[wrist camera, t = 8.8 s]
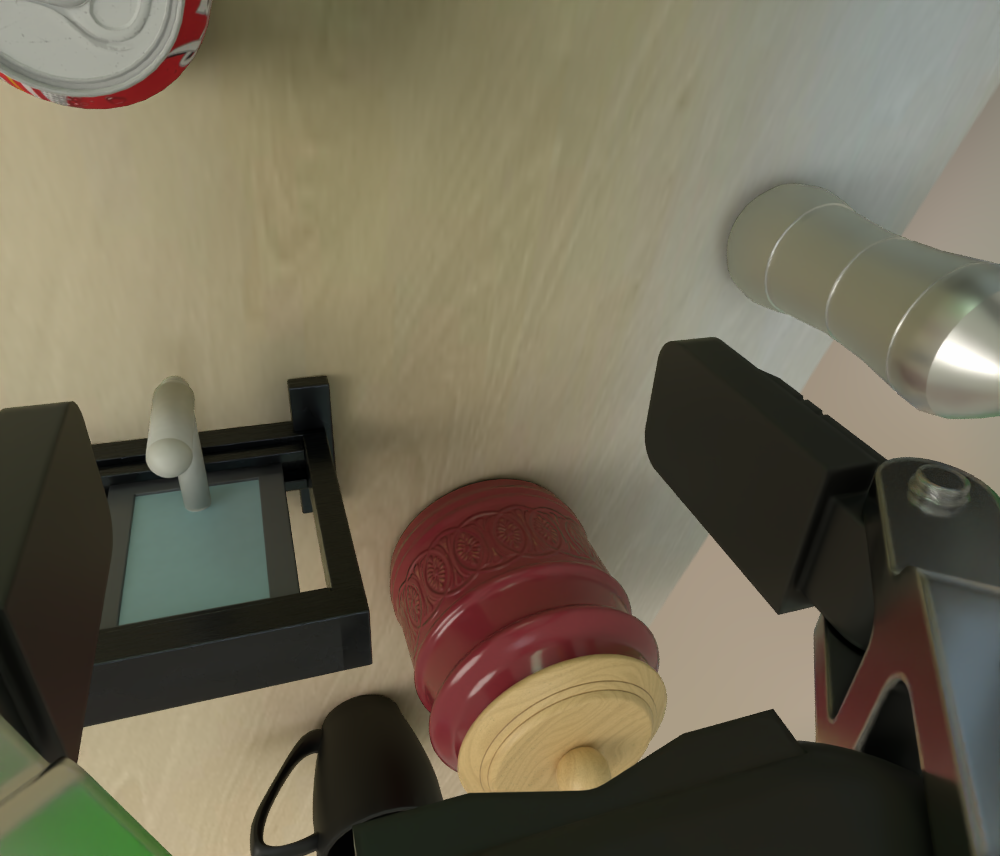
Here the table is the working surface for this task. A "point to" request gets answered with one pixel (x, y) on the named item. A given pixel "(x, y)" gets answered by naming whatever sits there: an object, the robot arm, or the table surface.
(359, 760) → the mug
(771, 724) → the robot arm
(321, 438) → the window frame
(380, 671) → the table surface
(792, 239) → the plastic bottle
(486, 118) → the table surface
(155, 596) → the window pane
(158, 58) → the soda can
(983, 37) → the table surface
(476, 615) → the kitchen canister
